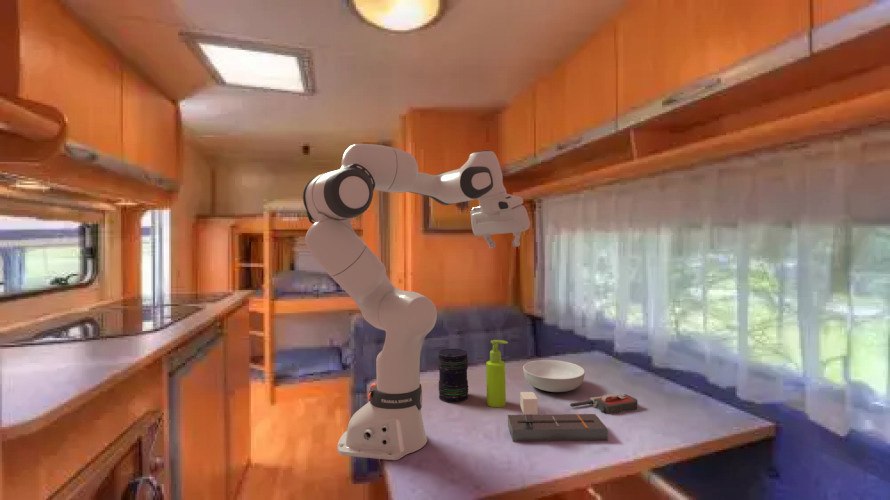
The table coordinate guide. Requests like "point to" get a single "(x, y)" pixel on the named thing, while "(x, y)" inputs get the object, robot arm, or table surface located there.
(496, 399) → the soap dispenser
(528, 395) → the fader knob
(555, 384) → the serving bowl
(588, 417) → the fader panel
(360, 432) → the robot arm
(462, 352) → the black ridged cylinder
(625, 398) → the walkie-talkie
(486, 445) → the table surface
